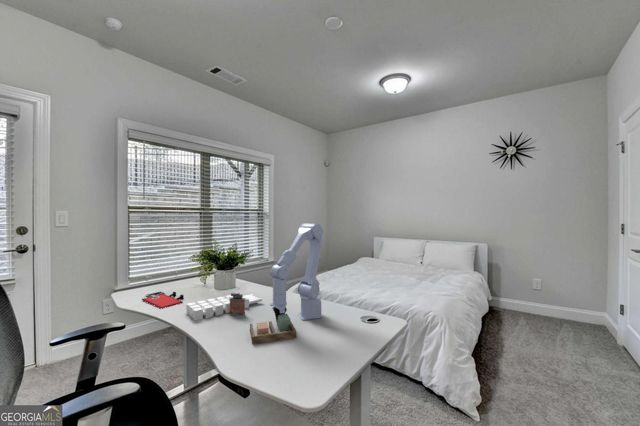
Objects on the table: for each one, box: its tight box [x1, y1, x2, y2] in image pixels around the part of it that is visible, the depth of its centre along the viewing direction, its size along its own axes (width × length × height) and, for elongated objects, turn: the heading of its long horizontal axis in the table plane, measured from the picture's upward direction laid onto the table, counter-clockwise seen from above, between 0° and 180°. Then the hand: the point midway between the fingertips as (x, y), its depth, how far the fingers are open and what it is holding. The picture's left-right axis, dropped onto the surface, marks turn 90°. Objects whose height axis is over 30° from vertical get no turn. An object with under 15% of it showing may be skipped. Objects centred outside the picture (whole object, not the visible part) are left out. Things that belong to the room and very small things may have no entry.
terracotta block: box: [256, 321, 270, 335], centre depth 111 cm, size 4×6×4 cm, turn 18°
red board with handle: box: [141, 291, 184, 309], centre depth 158 cm, size 30×3×15 cm
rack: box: [249, 320, 298, 345], centre depth 114 cm, size 17×13×3 cm
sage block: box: [276, 313, 291, 332], centre depth 118 cm, size 4×4×5 cm
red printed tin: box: [228, 292, 246, 316], centre depth 136 cm, size 8×3×10 cm, turn 74°
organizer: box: [185, 293, 263, 322], centre depth 144 cm, size 13×5×35 cm
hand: (279, 324), depth 121 cm, fingers closed
